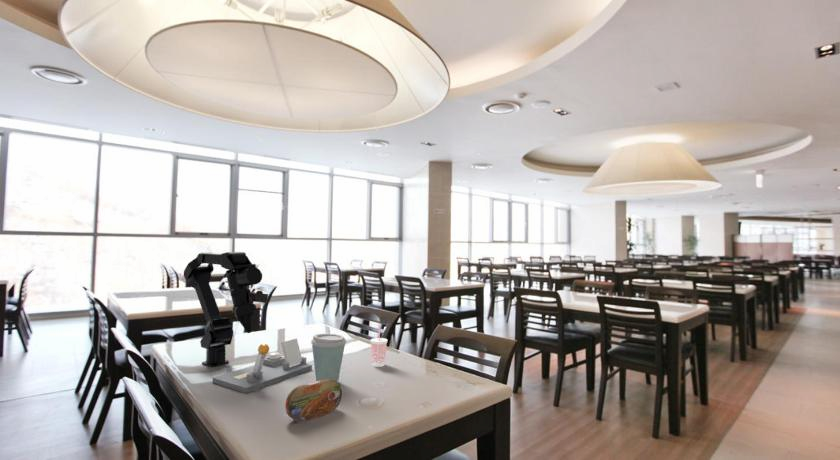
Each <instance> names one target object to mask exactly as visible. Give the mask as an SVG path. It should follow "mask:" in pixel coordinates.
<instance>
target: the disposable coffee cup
mask: <svg viewBox="0 0 840 460" xmlns="http://www.w3.org/2000/svg"><path fill="white" fill-rule="evenodd" d="M310 343H311V347H312V355H313V365H314V375H315V382H316V381H320V380H323V379H330V380H334V381H336V382H338V381H339V379H340V373H341V368H342V363H343V358H344V351H345V346H346V343H347V340H346V337H344V336H343V335H341V334H336V333H317V334H315V335H313V337H312V339H311V342H310ZM338 383H339V382H338Z"/></svg>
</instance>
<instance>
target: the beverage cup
mask: <svg viewBox="0 0 840 460" xmlns="http://www.w3.org/2000/svg"><path fill="white" fill-rule="evenodd" d="M370 343H371V365H372V367H375V368H376V367H377V368H380V367H384V366H385V365H386V356H387V355H386V353H387V343H388V339H387V338H385V337H381V325H378V337H375V338H374V337H373V338H371V339H370Z"/></svg>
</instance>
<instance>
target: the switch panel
mask: <svg viewBox="0 0 840 460" xmlns="http://www.w3.org/2000/svg"><path fill="white" fill-rule="evenodd" d="M301 357H302V361H301V362H298V363H295V364H292V365H289V363H287V362H285V358H284V356H281V355H280V359H278V360H274V361H272V360H269V356H268V357H267V356H266V357H265V359H264V363H263V366H262V369H261V372H260V375H259V378H256V379H254V374H252V372H253V369H254V366H255V364H254V365H251V366H246V367H244V368H239V369H237V370H234V371H233V370H232V371H230V372H226V373H224V374H220V375H217V376H213V377H212V384H216V385H218V386H222V387H225V388H228V389H231V390H235V391H237V392H240V393H243V394H247V393H251V392H252V391H256V390H259V389H262V388H265V387H267V386H269V385H272V384H275V383H278V382H280V381H281V382H282V381H283V380H287V379H289V378H291V377H294V376H297V375H301V374H303V373H306V372H308V371H311V370H313V365H312V364H310V363H307V357H306V356H301Z"/></svg>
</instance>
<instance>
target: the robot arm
mask: <svg viewBox="0 0 840 460" xmlns="http://www.w3.org/2000/svg"><path fill="white" fill-rule="evenodd" d="M205 264H207V265H205ZM214 265H219V266H220V267H221V268H223V269H225V270H226V271H225V273H224V274H223V279H225V278H226V280H227V284H228V288H229V293H230V294H229V295H230V296H231V300H232V301H231V302H232V308H231V309H232V313H233V314H234V317H236V319H237V320H238V322H239V323H240V325H241V326H242V327H243V329H244V331H246V333H247V334H250V333H251V332H252V316H253V314H254V313H255V312H256V311H257V305H256V304H255V303H263V304H267V303H268V299H269V294H268V293H263V290H257V291H256V292H252V291H251V289H250V288H249V287H250V286H254V285H258V284H260V282H261V281H262V280H263V273H262V272H261V270H260V269H259V268H258V267H257V265H256V263H252V262H251V260H250V259H249V257H248V256H247V254H246V252H244V251H238V252H237V251H233V252H232V251H231V252H229V251H228V252H227V251H226V252H223V253H213V252H211V251H210V252H200V253H198V254H197V255H196V257H195V258H194V259H192V260H191V261H190V262H188V263H187V265H186V266H185V269H184V270H183V278H184V279H185V280H186V282H187V284H188V285H189V287H191V288H193V289H194V291H195V293H196V295H197V299H198V301H199V304H200V306H201V307H200V308H201V310H202V313H203V315H204V318H205V321H206V325H205V328H204V335H203V337H202V338H201V340H200V341H199V343H200V347H201V348H203V349H205V350H206V353H205V356H206V357H205V359H206V360H205V361H202V362H201V364H202V365H205V366H209V367H217V366H220V365H223V364H227V363H229V362H230V360H228V359H226V352H227V351H226V346H228V345H231V344H232V341H233V337H234V329H233V325H232V324H231V321H230V319H229V317H223V316H222V315H221V312H220V309H219V307H218V303H217V301H216V299H215V295H214V293H213V290H212V288H211V284H210V282H211V279H212V273H213V271H214V270H215V269H214ZM254 302H255V303H254Z"/></svg>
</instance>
